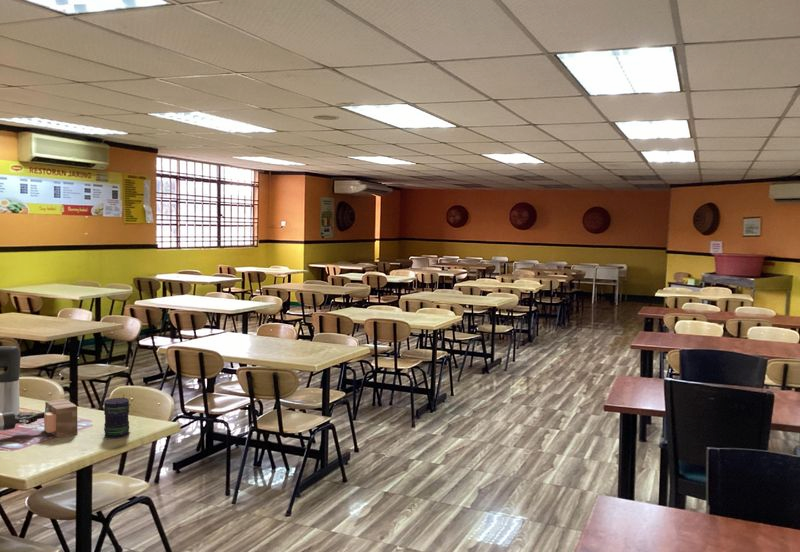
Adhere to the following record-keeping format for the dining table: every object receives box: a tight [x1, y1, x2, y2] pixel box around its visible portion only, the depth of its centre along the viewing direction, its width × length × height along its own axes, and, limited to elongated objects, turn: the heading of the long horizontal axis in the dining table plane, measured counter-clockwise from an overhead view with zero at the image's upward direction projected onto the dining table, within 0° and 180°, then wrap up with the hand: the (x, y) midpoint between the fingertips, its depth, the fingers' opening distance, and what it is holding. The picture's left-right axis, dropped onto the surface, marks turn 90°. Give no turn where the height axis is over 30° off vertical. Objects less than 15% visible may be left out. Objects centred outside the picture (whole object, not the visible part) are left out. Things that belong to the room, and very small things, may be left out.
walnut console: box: [44, 398, 79, 438], centre depth 279 cm, size 17×8×12 cm, turn 43°
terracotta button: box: [43, 412, 56, 433], centre depth 272 cm, size 5×6×7 cm
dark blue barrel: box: [103, 397, 130, 440], centre depth 275 cm, size 10×10×15 cm
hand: (46, 414), depth 279 cm, fingers closed
